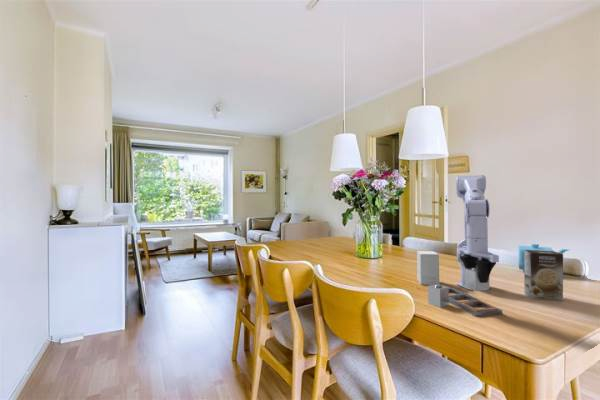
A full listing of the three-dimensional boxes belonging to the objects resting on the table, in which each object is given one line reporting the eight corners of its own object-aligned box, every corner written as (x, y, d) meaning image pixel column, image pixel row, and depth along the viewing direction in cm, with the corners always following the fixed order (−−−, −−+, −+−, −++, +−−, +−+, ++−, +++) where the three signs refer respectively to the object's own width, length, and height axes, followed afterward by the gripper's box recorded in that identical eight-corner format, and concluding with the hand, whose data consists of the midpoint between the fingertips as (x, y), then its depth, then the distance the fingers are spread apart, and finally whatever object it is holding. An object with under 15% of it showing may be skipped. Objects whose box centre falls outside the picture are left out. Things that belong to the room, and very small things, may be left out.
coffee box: (531, 299, 102) (530, 252, 101) (523, 293, 108) (523, 249, 108) (564, 301, 99) (563, 254, 98) (554, 295, 105) (554, 250, 105)
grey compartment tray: (451, 290, 112) (451, 286, 112) (502, 313, 90) (502, 309, 90) (430, 292, 111) (430, 288, 111) (476, 316, 88) (475, 311, 88)
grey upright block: (436, 300, 102) (436, 282, 102) (448, 304, 98) (448, 285, 98) (428, 303, 100) (427, 284, 100) (440, 307, 96) (439, 287, 96)
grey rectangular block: (477, 285, 96) (477, 265, 96) (488, 289, 91) (487, 269, 91) (465, 286, 95) (464, 266, 95) (475, 291, 91) (475, 270, 91)
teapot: (519, 273, 134) (519, 245, 133) (518, 266, 146) (518, 240, 146) (573, 279, 123) (572, 248, 123) (566, 271, 136) (566, 243, 136)
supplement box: (439, 285, 119) (439, 254, 119) (420, 284, 120) (419, 254, 120) (435, 280, 126) (434, 251, 126) (417, 279, 128) (416, 250, 128)
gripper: (450, 235, 100) (450, 275, 100) (483, 241, 85) (484, 288, 86) (468, 234, 101) (469, 273, 101) (504, 240, 87) (505, 286, 87)
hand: (477, 280), depth 93 cm, fingers closed on grey rectangular block, 4 cm apart
